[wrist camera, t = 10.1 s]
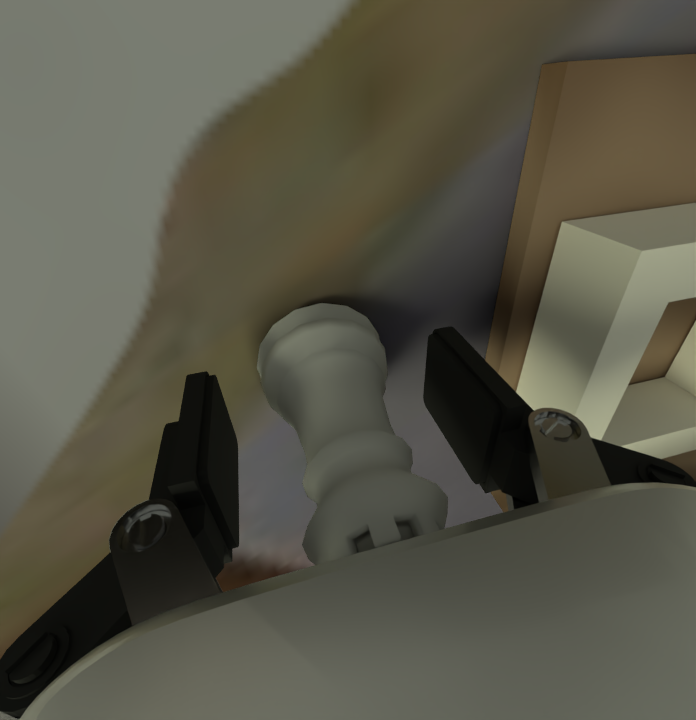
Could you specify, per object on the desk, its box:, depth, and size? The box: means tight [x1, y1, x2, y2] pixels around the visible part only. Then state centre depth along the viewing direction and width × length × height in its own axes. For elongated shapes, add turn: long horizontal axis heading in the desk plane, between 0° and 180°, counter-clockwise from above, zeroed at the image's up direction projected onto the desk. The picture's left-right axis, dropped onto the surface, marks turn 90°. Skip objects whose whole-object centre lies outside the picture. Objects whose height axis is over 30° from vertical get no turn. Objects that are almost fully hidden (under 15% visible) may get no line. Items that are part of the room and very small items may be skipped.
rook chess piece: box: [257, 303, 448, 565], centre depth 10 cm, size 4×4×8 cm
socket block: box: [516, 203, 696, 459], centre depth 14 cm, size 10×10×3 cm
